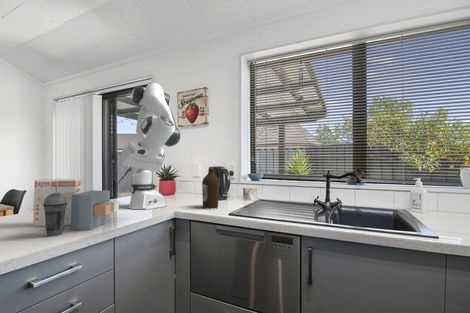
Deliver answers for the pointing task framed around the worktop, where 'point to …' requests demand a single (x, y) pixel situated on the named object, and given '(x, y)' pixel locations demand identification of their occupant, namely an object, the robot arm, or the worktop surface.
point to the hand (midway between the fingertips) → (133, 175)
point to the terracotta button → (101, 209)
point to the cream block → (113, 205)
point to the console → (87, 210)
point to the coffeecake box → (49, 187)
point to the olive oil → (210, 189)
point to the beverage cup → (55, 213)
